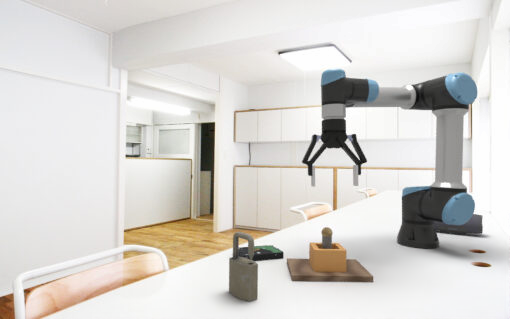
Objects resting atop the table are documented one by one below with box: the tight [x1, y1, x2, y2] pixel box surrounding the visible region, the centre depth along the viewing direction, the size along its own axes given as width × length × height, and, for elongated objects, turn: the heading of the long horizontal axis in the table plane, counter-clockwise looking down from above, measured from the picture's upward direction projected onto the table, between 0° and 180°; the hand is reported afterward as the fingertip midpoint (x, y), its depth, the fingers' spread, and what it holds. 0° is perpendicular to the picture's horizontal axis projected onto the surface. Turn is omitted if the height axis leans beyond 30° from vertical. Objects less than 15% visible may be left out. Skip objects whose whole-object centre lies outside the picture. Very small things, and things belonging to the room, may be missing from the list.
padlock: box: [228, 231, 259, 302], centre depth 81 cm, size 4×8×15 cm, turn 40°
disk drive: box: [238, 244, 284, 262], centre depth 115 cm, size 10×3×15 cm
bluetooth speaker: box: [434, 213, 484, 236], centre depth 157 cm, size 23×9×10 cm, turn 58°
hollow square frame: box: [308, 242, 348, 272], centre depth 99 cm, size 9×9×6 cm
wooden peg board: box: [286, 226, 374, 283], centre depth 99 cm, size 22×16×13 cm
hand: (334, 186), depth 107 cm, fingers open, 13 cm apart
